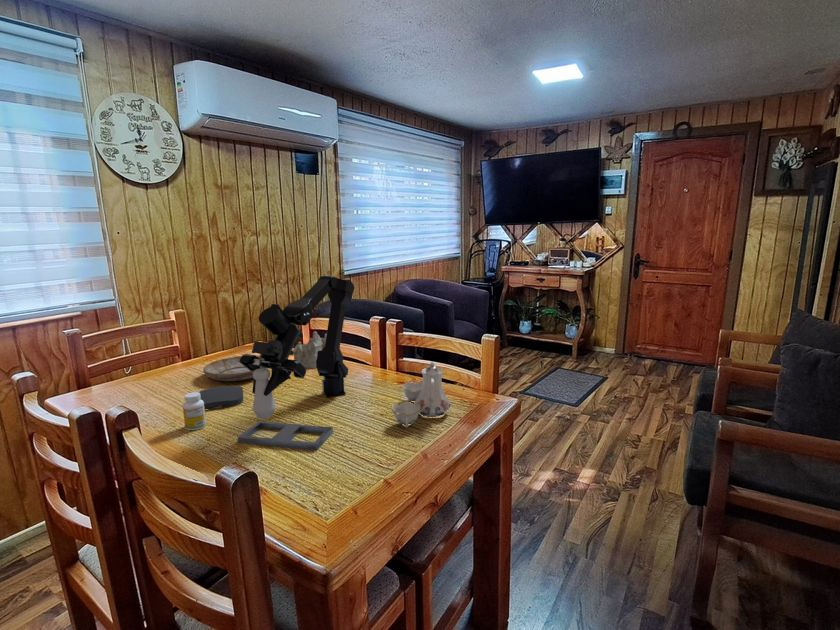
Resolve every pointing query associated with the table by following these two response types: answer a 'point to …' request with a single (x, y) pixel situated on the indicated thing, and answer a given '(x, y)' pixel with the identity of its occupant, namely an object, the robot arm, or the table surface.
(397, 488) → the table surface
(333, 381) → the robot arm
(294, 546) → the table surface
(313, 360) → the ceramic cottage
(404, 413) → the chinaware
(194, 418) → the supplement bottle
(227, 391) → the media streaming box
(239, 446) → the table surface
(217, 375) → the ceramic bowl
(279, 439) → the hole plate
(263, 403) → the salt shaker
